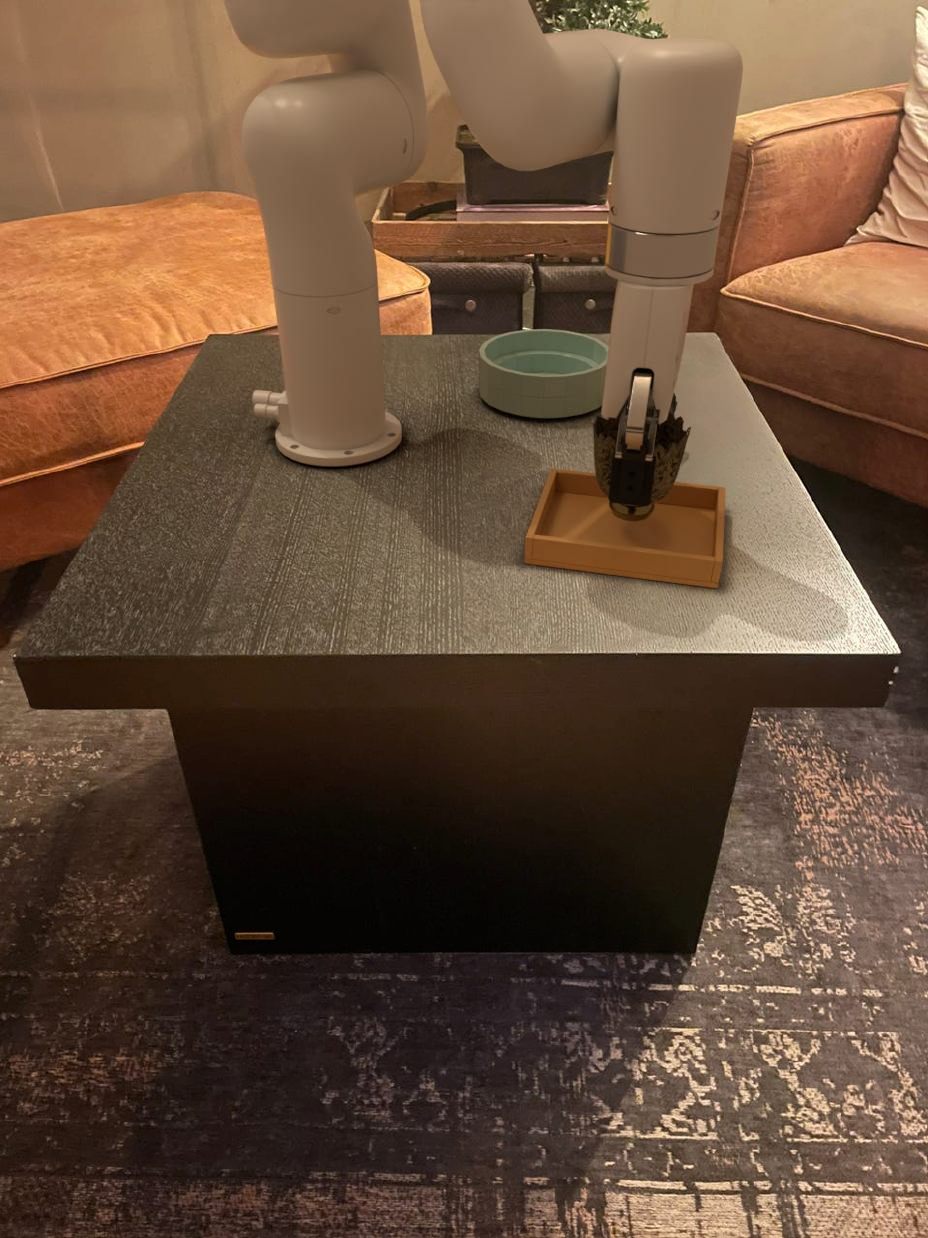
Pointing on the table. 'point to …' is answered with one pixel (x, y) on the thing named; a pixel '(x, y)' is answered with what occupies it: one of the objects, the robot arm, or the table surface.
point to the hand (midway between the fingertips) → (634, 477)
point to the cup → (665, 449)
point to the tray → (628, 532)
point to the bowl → (543, 373)
